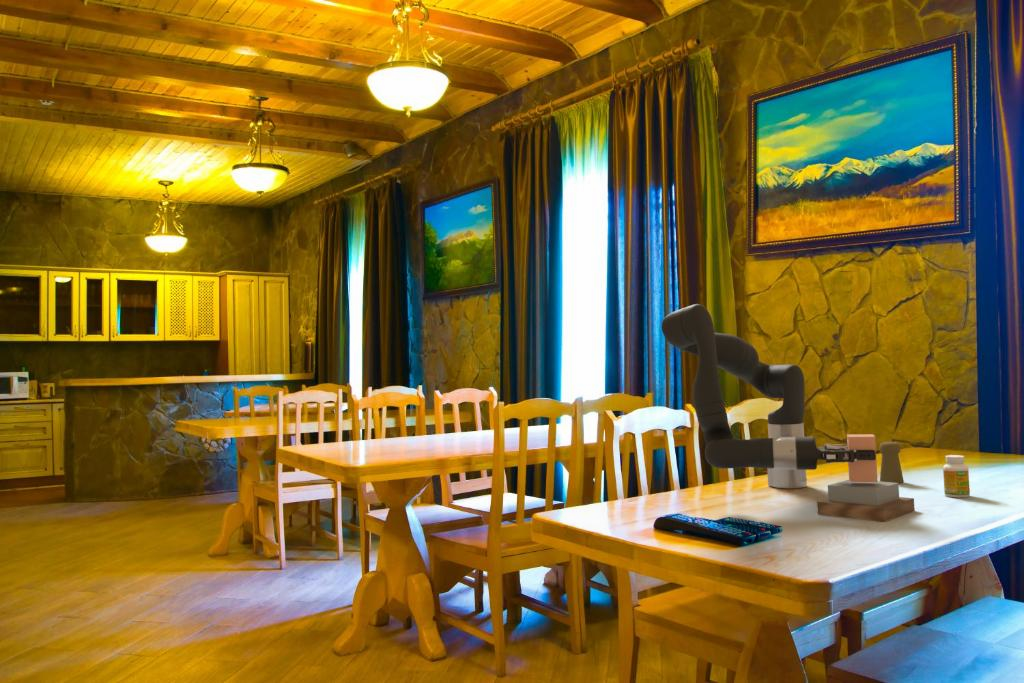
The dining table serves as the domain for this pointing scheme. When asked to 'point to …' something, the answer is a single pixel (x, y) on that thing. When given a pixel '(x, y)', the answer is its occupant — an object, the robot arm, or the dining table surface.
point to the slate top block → (863, 492)
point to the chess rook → (890, 463)
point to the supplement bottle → (956, 477)
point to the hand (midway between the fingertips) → (873, 453)
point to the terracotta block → (862, 468)
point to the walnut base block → (867, 509)
